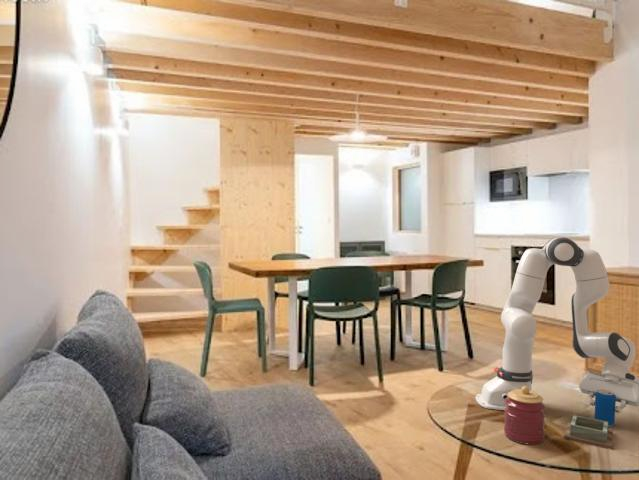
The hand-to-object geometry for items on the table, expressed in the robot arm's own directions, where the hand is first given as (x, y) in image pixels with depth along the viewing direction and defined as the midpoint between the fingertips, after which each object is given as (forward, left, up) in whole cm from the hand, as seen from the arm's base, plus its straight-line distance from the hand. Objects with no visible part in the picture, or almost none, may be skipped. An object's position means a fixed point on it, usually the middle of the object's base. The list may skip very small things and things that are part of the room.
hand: (604, 408), depth 181 cm
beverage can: (0, 0, -6) cm, 6 cm away
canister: (-34, -13, -6) cm, 36 cm away
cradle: (-11, -11, -6) cm, 16 cm away
